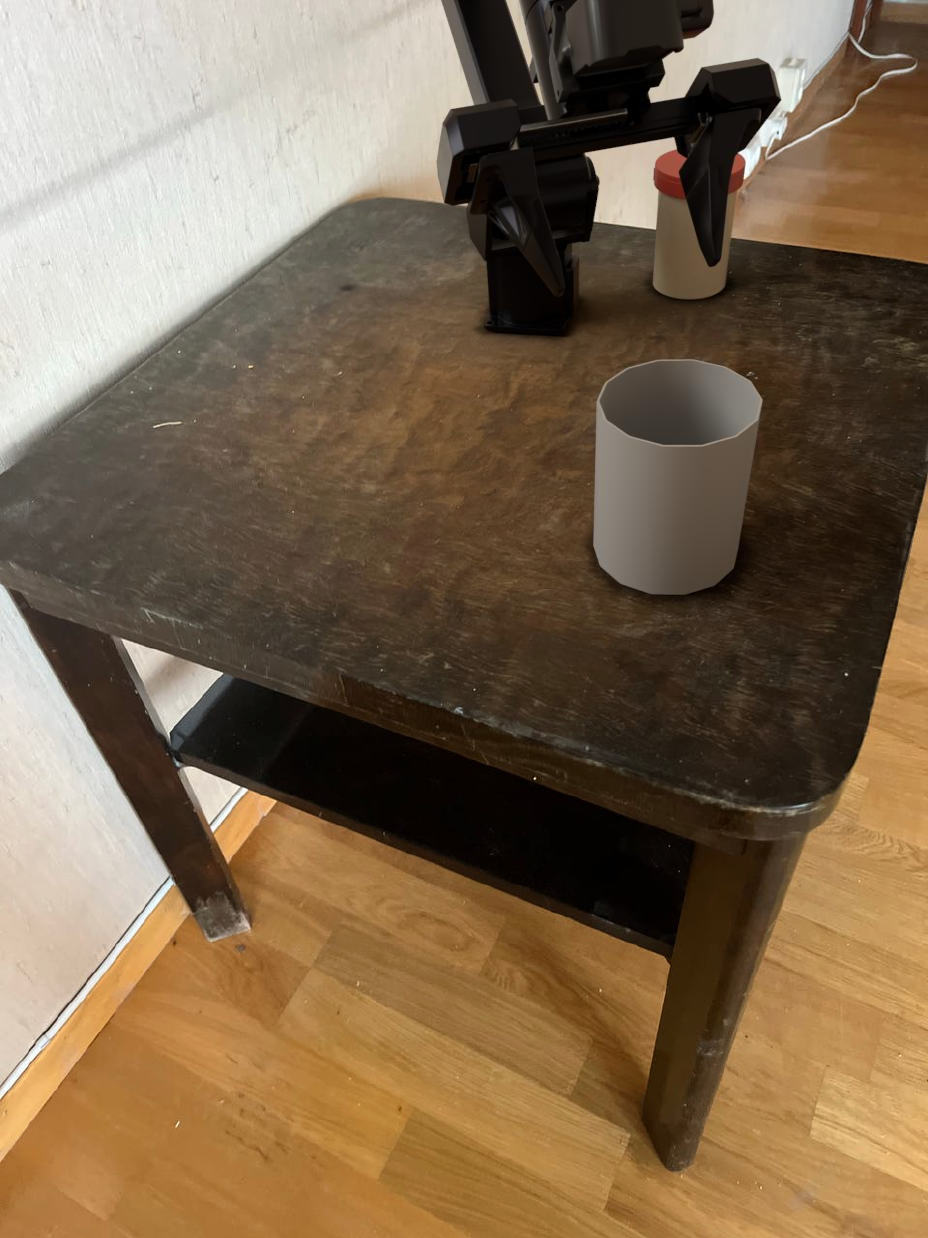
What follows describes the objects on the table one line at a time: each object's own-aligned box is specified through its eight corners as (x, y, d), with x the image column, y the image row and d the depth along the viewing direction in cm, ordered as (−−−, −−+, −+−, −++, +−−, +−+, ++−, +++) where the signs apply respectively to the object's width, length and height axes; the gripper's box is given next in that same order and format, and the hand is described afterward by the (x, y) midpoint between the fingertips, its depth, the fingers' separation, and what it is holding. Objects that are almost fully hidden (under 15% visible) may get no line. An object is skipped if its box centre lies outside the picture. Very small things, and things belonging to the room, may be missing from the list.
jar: (648, 297, 78) (655, 182, 72) (657, 265, 82) (664, 153, 76) (722, 301, 77) (737, 184, 70) (728, 268, 81) (742, 154, 74)
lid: (647, 198, 72) (648, 177, 71) (658, 164, 77) (659, 145, 76) (740, 200, 71) (742, 179, 70) (745, 166, 75) (748, 146, 74)
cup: (768, 556, 55) (797, 407, 48) (658, 616, 52) (672, 467, 45) (671, 486, 60) (684, 343, 53) (566, 537, 58) (566, 393, 50)
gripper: (424, -76, 44) (500, 245, 44) (792, -128, 47) (867, 177, 46) (411, 71, 56) (472, 329, 55) (708, 23, 58) (769, 271, 57)
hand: (638, 278), depth 53 cm, fingers open, 9 cm apart
